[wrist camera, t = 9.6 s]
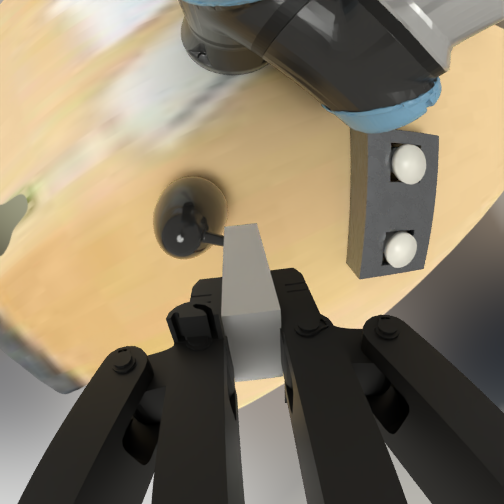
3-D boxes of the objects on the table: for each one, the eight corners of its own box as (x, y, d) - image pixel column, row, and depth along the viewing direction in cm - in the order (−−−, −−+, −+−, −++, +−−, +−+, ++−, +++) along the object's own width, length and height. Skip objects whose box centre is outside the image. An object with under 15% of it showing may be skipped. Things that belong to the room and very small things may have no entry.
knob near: (373, 139, 38) (396, 143, 32) (402, 142, 39) (426, 146, 32) (373, 175, 41) (395, 184, 35) (401, 175, 41) (424, 184, 35)
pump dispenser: (226, 237, 44) (225, 288, 31) (163, 233, 43) (136, 281, 29) (232, 174, 40) (233, 199, 26) (164, 170, 39) (131, 193, 25)
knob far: (370, 220, 44) (390, 235, 38) (398, 218, 45) (419, 232, 38) (367, 251, 47) (385, 270, 41) (394, 248, 47) (413, 265, 41)
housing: (350, 126, 38) (367, 127, 32) (417, 132, 38) (438, 135, 33) (346, 262, 48) (359, 279, 43) (407, 254, 49) (423, 268, 43)
